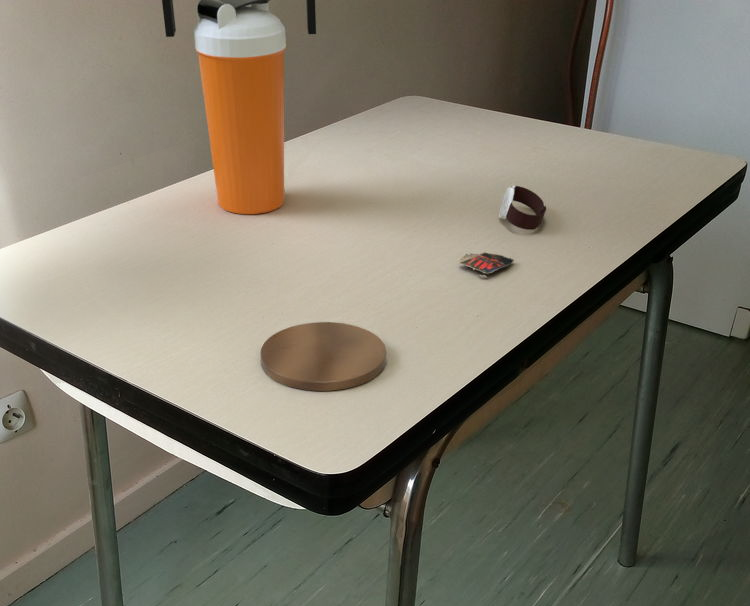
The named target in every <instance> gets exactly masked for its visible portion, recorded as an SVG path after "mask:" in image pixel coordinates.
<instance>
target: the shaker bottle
mask: <svg viewBox="0 0 750 606" xmlns="http://www.w3.org/2000/svg"><path fill="white" fill-rule="evenodd" d="M269 3H270V0H198V2H197V5H196V16H197V22H196V23H195V26H194V28H193V40H194V51H195V52H196V53H197V56H198V64H199V71H200V80H201V85H202V94H203V101H204V109H205V116H206V123H207V130H208V138H209V145H210V153H211V160H212V166H213V174H214V182H215V190H216V196H217V197H216V198H217V204H218V206H219V208H221V209H222V210H223V211H226V212H229V213H232V214H238V215H259V214H265V213H269V212H273V211H276V210H278V209H279V208H281V207H282V206H283V205H284V202H285V51H286V48H287V40H286V39H287V38H286V37H287V36H286V27H285V25H284V24H283V23H282V21H281V20H280V18H279V17H278V16H276V15H275V14H273V13H272V12H270V9H269V8H270V7H269Z"/></svg>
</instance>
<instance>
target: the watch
mask: <svg viewBox="0 0 750 606" xmlns="http://www.w3.org/2000/svg"><path fill="white" fill-rule="evenodd" d="M513 202H517V203H520V204H523V205H524V206H527V208H529V209H531V210H532V211H533V212H534V213H535V214H529V213H525V212H523V211H520V210H519V209H517V207H515V206H514V205H513ZM546 211H547V205H545V203H544V201H543V199H542V197H540V196H539V195H538V194H537V193H536V192H534V191H532V190H530V189H528V188H526V187H523V186H520V185H511V186H508V187H507V189H506V191H505V193H504V195H503V197H502V201H501V204H500V208H499V215H498V216H499V218H500V219H502V220H507V221H508V222H509V223H510V224H511V225H513V226H515V227H517V228H520V229H523V230H527V231H529V230H530V231H532V230H537V229H538V228H539V227H540V225H541V224H542V221H543V219H544V217H545V214H546Z"/></svg>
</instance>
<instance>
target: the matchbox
mask: <svg viewBox="0 0 750 606" xmlns="http://www.w3.org/2000/svg"><path fill="white" fill-rule="evenodd" d="M513 262H514V259H513V258H512V257H507V256H504V255H502V254H497V252H496V253H489V252H485V251H484V252H480V253H471V252H470V253H469V254H468V253H466V254H465V255H463V256H462V257H461V259H460V260H459V261H457V263H458V264H460V265H463V266H466V267H468V268H471V269H472V270H474V271H475V270H476V271H479V272H481V273H483V274H480V273H478V274H477V275H478V276H479V277H480V278H483V279H488V280H489V277H488V276H487V275H489V274H491V273H492V274H494V272H495V271H498V270H500V269H503V268H505V267H508V266H510V265H511V264H512V263H513ZM485 274H487V275H485Z"/></svg>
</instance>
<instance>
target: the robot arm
mask: <svg viewBox="0 0 750 606" xmlns="http://www.w3.org/2000/svg"><path fill="white" fill-rule="evenodd" d="M305 1H306V28H307V35H317V19H316V16H317V14H316V0H305ZM161 5H162V14H163V21H164V31H165V32H164V33H165V38H174V37H175V34H176V31H177V27H176V19H175V10H174V0H161Z"/></svg>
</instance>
